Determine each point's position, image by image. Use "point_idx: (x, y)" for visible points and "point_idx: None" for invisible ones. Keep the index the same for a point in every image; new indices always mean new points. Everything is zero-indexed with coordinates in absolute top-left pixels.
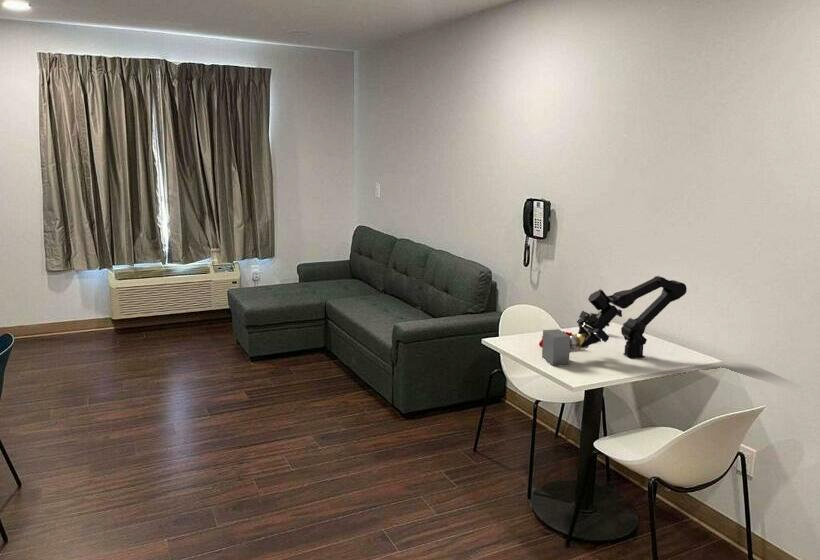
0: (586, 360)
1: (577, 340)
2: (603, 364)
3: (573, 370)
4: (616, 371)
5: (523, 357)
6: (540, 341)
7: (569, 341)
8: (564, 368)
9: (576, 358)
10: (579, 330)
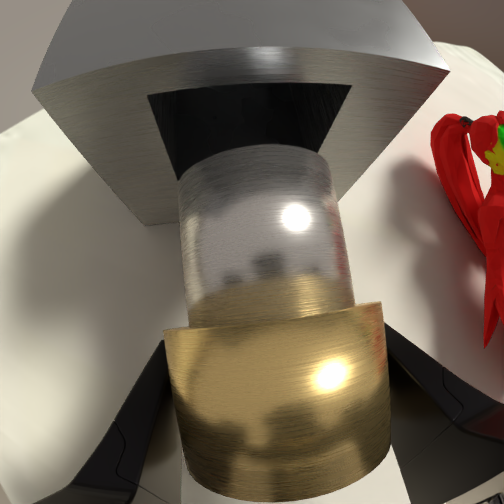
0: None
1: (189, 295)
2: None
3: (52, 223)
4: (32, 458)
5: None
6: (457, 115)
7: (64, 126)
8: (93, 180)
9: None
10: (486, 404)
